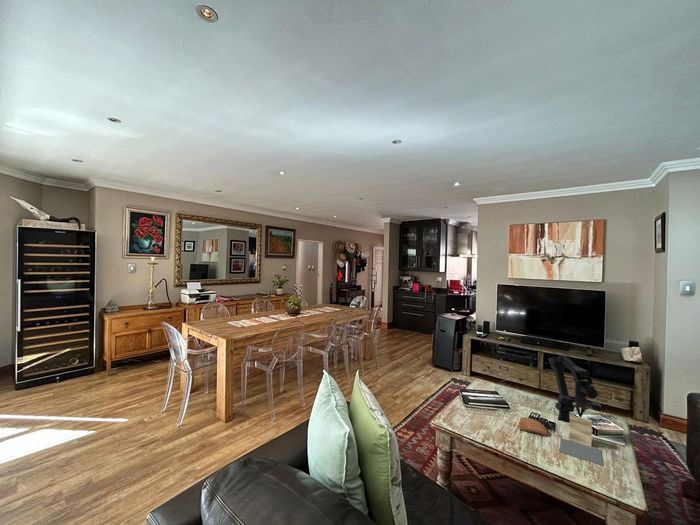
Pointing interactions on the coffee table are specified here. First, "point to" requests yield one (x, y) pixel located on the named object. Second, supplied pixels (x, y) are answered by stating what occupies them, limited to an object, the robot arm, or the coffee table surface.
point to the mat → (581, 451)
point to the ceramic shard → (532, 426)
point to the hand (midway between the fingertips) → (580, 417)
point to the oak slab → (580, 430)
